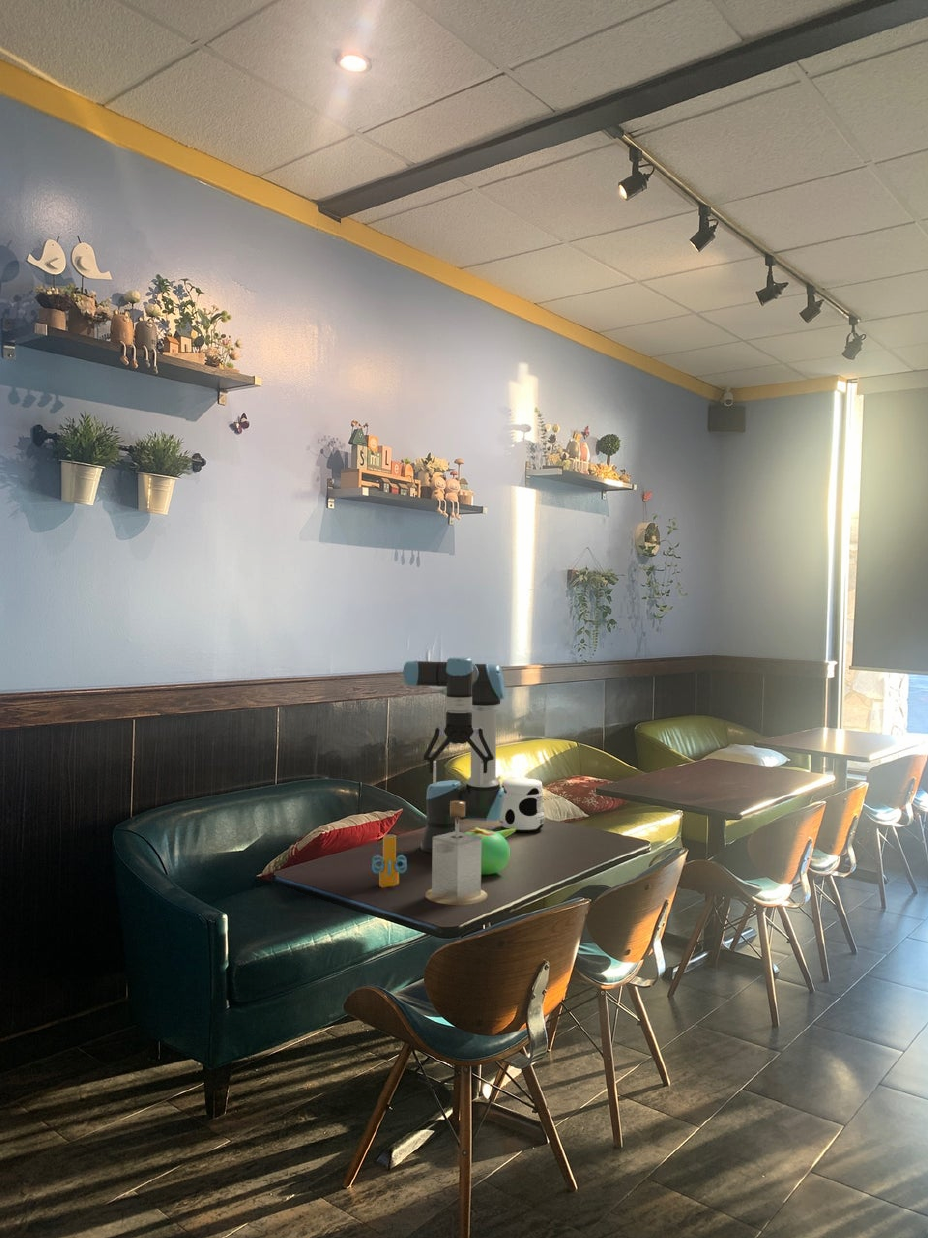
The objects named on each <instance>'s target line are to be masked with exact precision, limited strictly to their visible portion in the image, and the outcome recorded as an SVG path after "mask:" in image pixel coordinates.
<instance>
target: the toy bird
mask: <svg viewBox="0 0 928 1238" xmlns="http://www.w3.org/2000/svg"><path fill="white" fill-rule="evenodd" d="M515 832H516V829H503V830H502V829H501V830H497V831H494V830H493V829H492V830H491V829H486V828H480V827H478V826H475V827H474V828H473V829H470V830H467V831H465V832H464V833H467V834H471V835H475V836H480V837H482V844H481V876H485V875H486V876H487V875H488V876H489V875H494V874H496V873H499V872H500V871H502V870H503V869H505V867H506V866H507V864H508V862H509V860H510V857H511V850H510V844H509V842H508V841H507V839H506V838H507V837H508V836H510V835H512V834H513V833H515Z"/></svg>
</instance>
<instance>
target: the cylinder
mask: <svg viewBox="0 0 928 1238" xmlns="http://www.w3.org/2000/svg"><path fill="white" fill-rule="evenodd" d="M371 861H372V865H371V869H372V871H373V873H375V874H378V886H379V887H380V888H382V889H383V888H387V887H394V886H398V885H399V884H400V874H403V873H405V872H406V871H407V868H408V864H407V861H408V860H407V857H406V856H405V855H403V854H400V855H397V834H389V833H388V834H384V835H382V855H380V854H376V855H374V856H373V857H372V859H371ZM377 863H381V865H380V866H378V865H377ZM398 863H402V865H401V866H399V865H398Z"/></svg>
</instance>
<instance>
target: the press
mask: <svg viewBox="0 0 928 1238" xmlns="http://www.w3.org/2000/svg"><path fill="white" fill-rule="evenodd" d="M481 844H482V837H480V836H475V835H471V834H467V833H465V832H462V831H461V832H459V838H458V839H456V838H455V831H454V832H450V833H446V834H442V835H438V836H434V837H433V853H431V854H432V857H431V858H432V860H431V861H432V862H431V863H432V868H431V870H432V871H431V873H432V874H431V889H432V895H435V896H438V897H441V898H444V899H448V900H451V901H454V902H460V901H463V900H466V899H469V898H472V897H475V896H478V895H481V890H482V875H481Z"/></svg>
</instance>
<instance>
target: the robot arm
mask: <svg viewBox="0 0 928 1238" xmlns="http://www.w3.org/2000/svg"><path fill="white" fill-rule="evenodd" d="M402 672H403V673H402V674H403V675H402V676H403V677H402V678H403V682H404V684H405V685H406V686H411V687H424V688H430V690H431V691H432V692H435V693H437V694H440V695H444V696H445V709H446V710H447V711H446V712H445V727H444V728H442V727H441V728H440V727H438V726H436V727H435V729H434V735H433V737H432V739H431V741H430V743H429V744H428V746H427V748H426V750H425V752H424V754H423V760H425V761H427V762H429V774H433V775H432V777H433V778H432V779H433V783H431V784H429V785H428V786H427V788H426V789H427V790H426V797H425V799H426V819H425V820H426V825H425V826H426V827H425V830H424V833H423V837H422V839H421V842H420V850H422V852H425V853H428V854H433V837H434V836H438V835H442V834H446V833H450V832H454V831H455V817H450V802H451V801H464V802H465V817H461V818H460V820H459V832H462V830H461V821H475V822H477V821H479V822H480V821H481V822H485V823H486V822H497V821H498V820H499V818H500V815H501V811H502V805H503V799H504V788H503V787H502V786H501V782H500V779H498V778H497V777H496V769H497V768H496V766H497V765H496V763H497V762H496V761H497V760H496V759H497V758H496V755H497V754H496V753H497V752H496V751H497V749H496V746H497V745H496V743H497V741H496V731H497V730H496V728H497V727H496V725H497V722H496V721H497V716H496V715H497V714H496V713H497V708H498V707H499V706H500V705H501V700H504V699H505V696H506V692H505V691H506V685H505V678H504V674H503V670H502V668H501V666H500V665H498V664H490V663H473V660H472V658H469V657H465V656H462V657H461V656H459V657H455V656H453V657H449V658H447V661H431V660H430V661H427V660H425V661H424V660H423V661H422V660H421V661H419V660H408V661H406V662H405V663H404V666H403V671H402ZM443 733H444V735H445V736H446V738H445V739H444V740H443V742H442V743H441V744H440V745H439V747H438V748H437V749H436V750H435V751H434V753H432V754H431V752H432V750H434V749H433V748H434V747H435V745H436V743H437V742H438V740H439V736H442V734H443ZM465 743H467V744H468V745H469V746H470V777H469V778H467V780H466V781H465V785H462V783H461V781H460V780H459V779H458V780H455V779H451V780H450V779H449V780H442V781H441V780H440V781H437V761H436V759H438V757H439V756H440V754H441V753H442V752H443V751H444V750H445V749H446V748H447V746H449V744H455V745H457V744H462V745H463V744H465Z"/></svg>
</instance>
